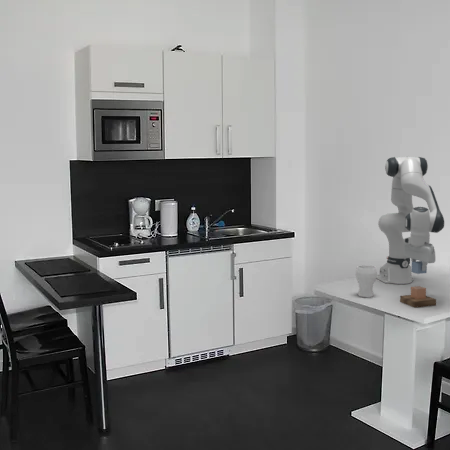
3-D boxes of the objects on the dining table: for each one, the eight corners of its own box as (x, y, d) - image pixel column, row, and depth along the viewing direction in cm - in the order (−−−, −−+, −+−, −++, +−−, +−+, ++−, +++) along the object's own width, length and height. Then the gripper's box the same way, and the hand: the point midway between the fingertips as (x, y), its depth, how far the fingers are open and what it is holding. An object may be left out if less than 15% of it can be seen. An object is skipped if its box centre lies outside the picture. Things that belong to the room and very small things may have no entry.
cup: (373, 299, 312) (373, 269, 310) (352, 296, 317) (353, 267, 315) (378, 294, 321) (379, 265, 319) (358, 292, 326) (359, 264, 324)
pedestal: (400, 301, 306) (400, 295, 305) (420, 299, 309) (420, 293, 309) (414, 307, 294) (415, 301, 294) (436, 305, 298) (436, 299, 298)
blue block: (411, 271, 301) (411, 261, 301) (420, 271, 303) (420, 261, 302) (417, 273, 297) (418, 263, 296) (426, 273, 298) (426, 262, 298)
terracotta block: (410, 296, 303) (410, 286, 302) (419, 295, 305) (419, 286, 304) (416, 299, 298) (417, 289, 298) (425, 298, 300) (426, 288, 299)
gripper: (439, 243, 289) (438, 272, 291) (412, 237, 308) (412, 265, 310) (428, 244, 287) (427, 273, 289) (401, 238, 306) (401, 265, 308)
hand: (419, 269), depth 300 cm, fingers closed on blue block, 5 cm apart
